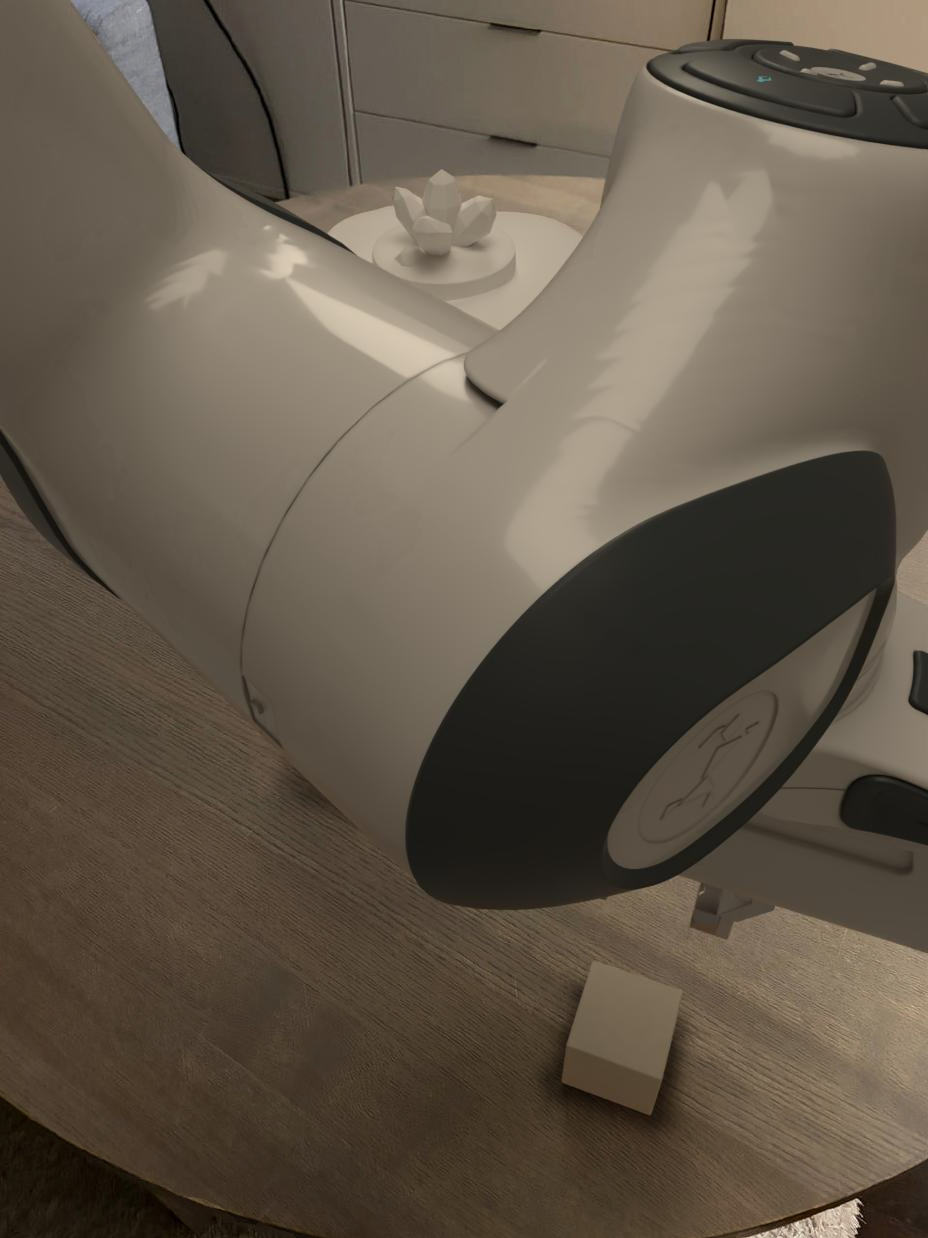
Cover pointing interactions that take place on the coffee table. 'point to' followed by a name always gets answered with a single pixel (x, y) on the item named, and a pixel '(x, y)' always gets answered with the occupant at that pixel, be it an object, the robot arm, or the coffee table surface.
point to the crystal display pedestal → (462, 248)
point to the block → (621, 1037)
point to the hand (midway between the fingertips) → (651, 899)
